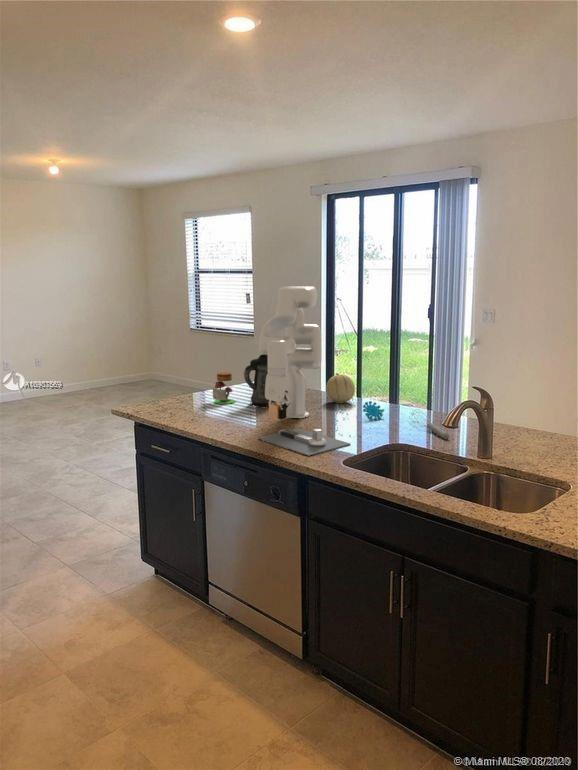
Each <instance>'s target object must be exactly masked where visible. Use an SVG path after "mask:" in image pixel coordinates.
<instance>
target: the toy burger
mask: <svg viewBox="0 0 578 770" xmlns="http://www.w3.org/2000/svg"><path fill="white" fill-rule="evenodd" d="M216 380H217V381H216V382H215V385H214V386H211V387H212V399H214V403H215V404H216V403H217V404H218V405H230V404H231V403H232V404H235V403H236V400H235V399H232V398H229V395H230V393H232V392H234V391H233V389H232V388H231V387H230V386H226V385H227V384H225V383H224V382H228V381H232V372H228V371H221V372H220V371H219V372H218V373H216ZM223 387H225V388H224V389H223ZM234 402H235V403H234ZM217 404H216V405H217Z"/></svg>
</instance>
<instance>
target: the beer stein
mask: <svg viewBox="0 0 578 770" xmlns="http://www.w3.org/2000/svg"><path fill="white" fill-rule="evenodd" d="M252 371H255V372H254V377H253V381H252V379H251V378H250V373H251V372H252ZM267 374H268V355H264V354H260V355H259V356H258V357H257V358H255V359H251V360H250V362H249V365H247V366H246V367H245V368H244V372H243V376H244V381H245V382H246V383H245V384H247V386H249V388H251V390H252V395H251V396H250V402H251V405H252V406H253V405H254V406H253V407H255V406H258V407H257V408H261V407H269V403H268V401H267V399H266V398H265V382H266V376H267Z"/></svg>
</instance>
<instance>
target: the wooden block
mask: <svg viewBox="0 0 578 770" xmlns="http://www.w3.org/2000/svg"><path fill="white" fill-rule="evenodd" d="M283 404H284V403H282V405H283ZM279 409H280V405H279V403H278V402H274V403H269V408H268V419H270V420H273V421H277V422H279V421H283V420H284V421H285V420H287V419H288V418H287V409H286V419H282V420H280V419H279Z"/></svg>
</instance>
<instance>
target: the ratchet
mask: <svg viewBox="0 0 578 770" xmlns="http://www.w3.org/2000/svg"><path fill="white" fill-rule="evenodd" d="M290 430H291V429H290ZM290 430H289V429H281V430H279V431H278V433H279V435H282V436H285V437H288V438H291V439H295V440H298V441H301V442H304V443H308V444H309V446H311V447H324V446H326V440H325V439H323V438H322V435H323V429H320V428H313V429H312V432H313V438H311V437H307V436H304V435H301V434H299V433H297V432H293V431H290Z"/></svg>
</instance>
